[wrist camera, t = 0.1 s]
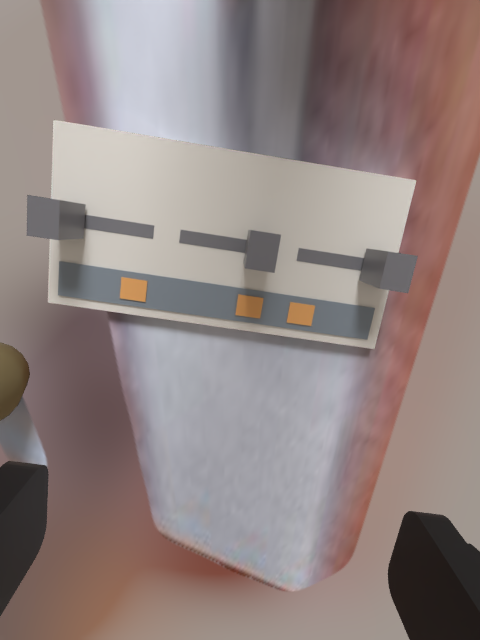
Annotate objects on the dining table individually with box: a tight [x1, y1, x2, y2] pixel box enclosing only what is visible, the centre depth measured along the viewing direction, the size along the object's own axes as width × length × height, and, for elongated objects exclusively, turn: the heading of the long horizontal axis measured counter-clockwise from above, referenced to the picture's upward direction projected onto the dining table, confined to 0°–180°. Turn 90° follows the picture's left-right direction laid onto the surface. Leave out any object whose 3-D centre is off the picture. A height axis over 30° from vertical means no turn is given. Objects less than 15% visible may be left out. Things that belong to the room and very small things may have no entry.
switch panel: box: [48, 120, 416, 349], centre depth 35 cm, size 16×32×2 cm, turn 81°
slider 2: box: [359, 248, 418, 293], centre depth 32 cm, size 3×2×5 cm
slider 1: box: [27, 195, 86, 240], centre depth 31 cm, size 3×2×5 cm
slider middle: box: [243, 230, 281, 273], centre depth 32 cm, size 3×2×5 cm
